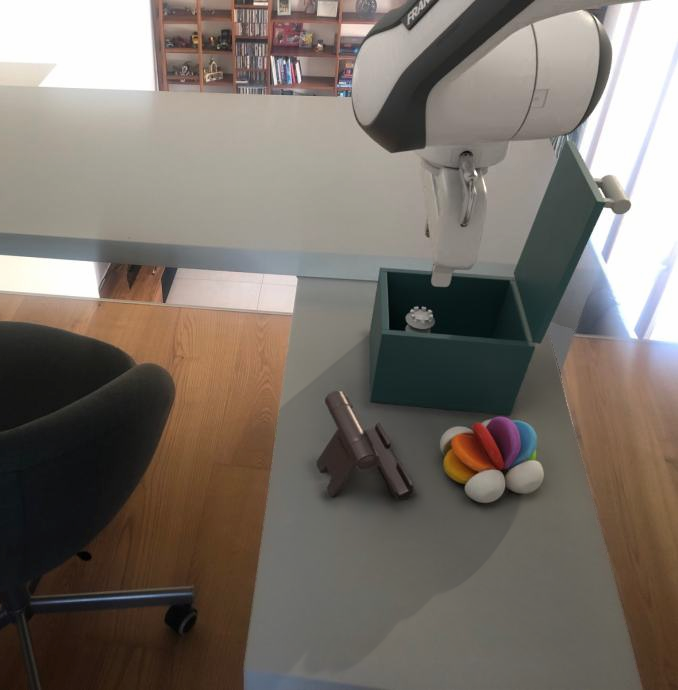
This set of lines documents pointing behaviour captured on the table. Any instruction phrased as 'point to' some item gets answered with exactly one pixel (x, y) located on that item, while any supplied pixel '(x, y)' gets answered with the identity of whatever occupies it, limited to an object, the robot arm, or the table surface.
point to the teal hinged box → (449, 342)
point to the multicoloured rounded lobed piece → (492, 458)
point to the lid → (562, 235)
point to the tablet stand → (359, 450)
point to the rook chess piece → (419, 320)
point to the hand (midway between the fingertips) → (435, 257)
